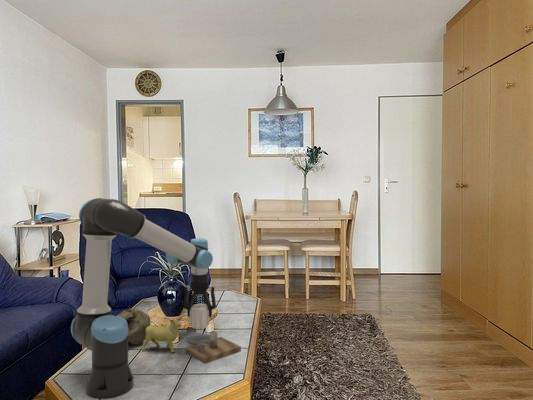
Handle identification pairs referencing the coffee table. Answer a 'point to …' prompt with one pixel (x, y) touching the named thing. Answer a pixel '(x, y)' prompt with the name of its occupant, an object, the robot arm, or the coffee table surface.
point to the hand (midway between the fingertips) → (199, 323)
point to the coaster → (198, 338)
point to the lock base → (213, 349)
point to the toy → (162, 334)
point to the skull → (136, 324)
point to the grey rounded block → (199, 316)
